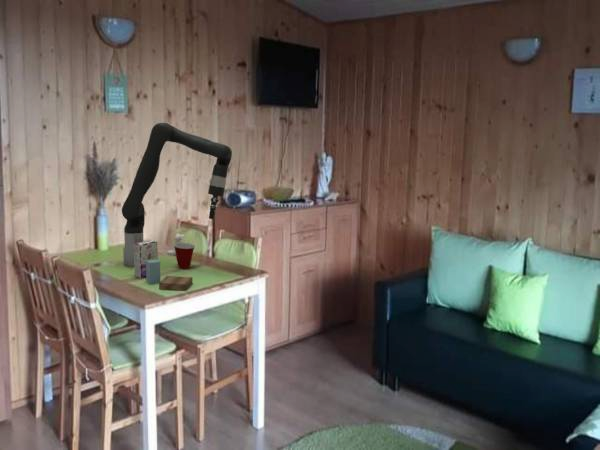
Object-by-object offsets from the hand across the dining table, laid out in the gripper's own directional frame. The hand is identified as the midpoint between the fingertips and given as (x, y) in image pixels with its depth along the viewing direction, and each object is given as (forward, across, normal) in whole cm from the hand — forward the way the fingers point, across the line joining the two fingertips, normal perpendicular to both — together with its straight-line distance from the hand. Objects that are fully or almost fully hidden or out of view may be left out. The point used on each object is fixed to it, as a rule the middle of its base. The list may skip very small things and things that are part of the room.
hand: (211, 218), depth 294 cm
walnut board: (+32, +22, -9) cm, 40 cm away
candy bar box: (+33, +3, -25) cm, 41 cm away
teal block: (+33, +15, -20) cm, 42 cm away
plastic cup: (+28, -12, -9) cm, 32 cm away
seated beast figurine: (+26, -41, -15) cm, 51 cm away
